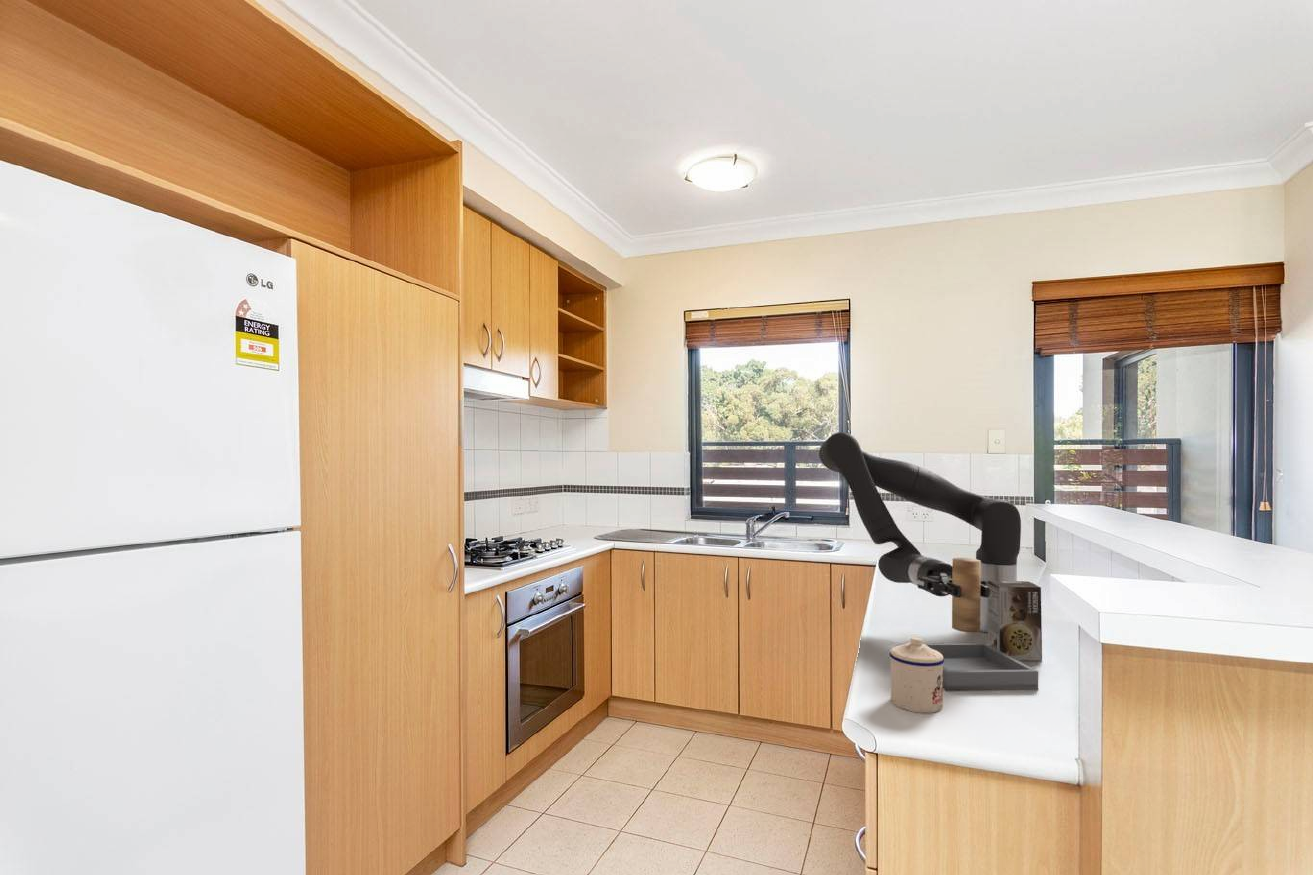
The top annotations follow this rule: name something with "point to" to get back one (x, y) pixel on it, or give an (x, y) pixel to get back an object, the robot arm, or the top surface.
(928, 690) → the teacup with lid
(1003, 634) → the coffee box
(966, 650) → the bin
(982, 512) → the robot arm
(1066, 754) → the top surface
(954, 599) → the oak cylinder
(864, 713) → the top surface
